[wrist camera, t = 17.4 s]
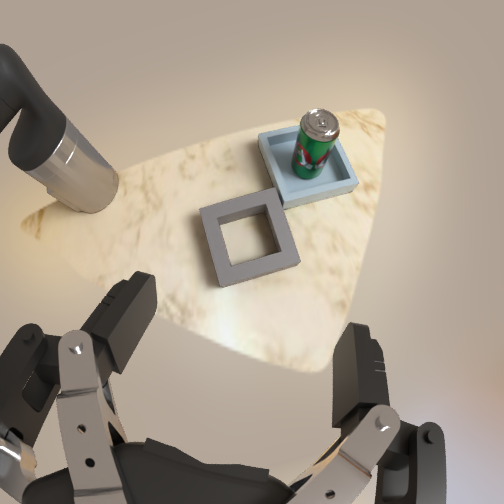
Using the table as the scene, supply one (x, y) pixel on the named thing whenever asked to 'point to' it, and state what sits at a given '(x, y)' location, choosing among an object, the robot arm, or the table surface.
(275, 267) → the socket block
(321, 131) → the soda can
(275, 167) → the parts tray
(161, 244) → the table surface
